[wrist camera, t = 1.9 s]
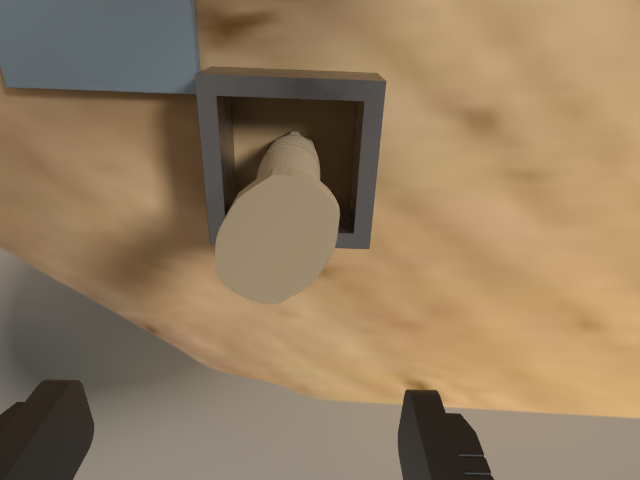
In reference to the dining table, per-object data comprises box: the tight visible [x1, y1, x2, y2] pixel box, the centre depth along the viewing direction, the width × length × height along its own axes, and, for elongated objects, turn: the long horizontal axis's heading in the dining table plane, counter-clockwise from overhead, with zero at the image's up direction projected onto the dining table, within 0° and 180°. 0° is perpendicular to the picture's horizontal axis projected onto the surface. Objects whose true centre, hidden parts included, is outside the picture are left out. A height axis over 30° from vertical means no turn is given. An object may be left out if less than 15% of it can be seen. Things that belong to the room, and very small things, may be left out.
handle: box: [215, 131, 340, 304], centre depth 25 cm, size 5×6×15 cm
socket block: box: [194, 67, 386, 249], centre depth 30 cm, size 11×11×4 cm
